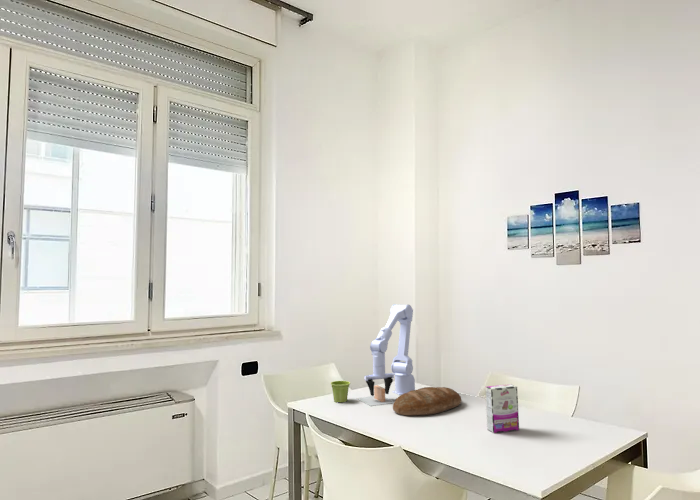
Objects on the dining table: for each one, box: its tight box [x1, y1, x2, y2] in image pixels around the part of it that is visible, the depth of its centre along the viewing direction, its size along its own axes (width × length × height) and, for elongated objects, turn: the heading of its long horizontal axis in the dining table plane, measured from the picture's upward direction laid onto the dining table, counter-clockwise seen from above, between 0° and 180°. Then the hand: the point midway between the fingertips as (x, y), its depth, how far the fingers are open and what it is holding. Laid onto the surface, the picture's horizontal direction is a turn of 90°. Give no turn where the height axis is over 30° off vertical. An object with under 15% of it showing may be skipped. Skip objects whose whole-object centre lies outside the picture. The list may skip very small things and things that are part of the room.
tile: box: [374, 384, 386, 402], centre depth 240 cm, size 2×8×6 cm, turn 23°
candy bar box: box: [484, 383, 520, 434], centre depth 192 cm, size 11×5×16 cm, turn 105°
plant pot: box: [330, 380, 351, 403], centre depth 240 cm, size 9×9×9 cm
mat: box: [356, 395, 395, 407], centre depth 239 cm, size 13×16×1 cm
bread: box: [392, 386, 462, 417], centre depth 226 cm, size 22×37×8 cm, turn 131°
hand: (379, 394), depth 240 cm, fingers open, 7 cm apart
